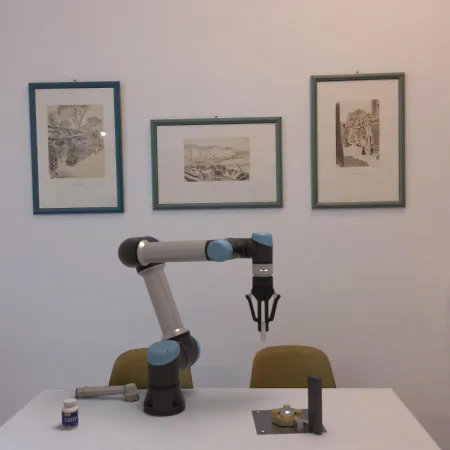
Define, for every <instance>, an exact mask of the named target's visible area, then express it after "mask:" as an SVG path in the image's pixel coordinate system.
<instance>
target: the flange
mask: <svg viewBox="0 0 450 450" xmlns="http://www.w3.org/2000/svg"><path fill="white" fill-rule="evenodd" d="M280 408H281V409H280V416H283V417H284V414H291V417H292V416H295V410H294V409H293V408H294V407H290V408H287V407H286V408H283V407H280ZM301 409H302V414H303V419H304V420H307V421H308V408H301ZM251 414H252V418H253V419H252V420H253V423H254V427H255V431H256V435H257V436H263V435H291V434H293V435H294V434H295V435H297V434H298V435H299V434H315V433H314V432H312V431H309V430H308V428H305V427H303V421H302V420H301V419H300V418H295V419H293V426H280V425H278V424H275V423H273V422H272V409H260V410H257V409H256V410H253V409H252V410H251ZM322 429H323V432H322V433H320V434H319V436H323V433H324V434H326V433H327V434H328V431H327V429H326V428H325V425H324V424H323V423H322Z"/></svg>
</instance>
